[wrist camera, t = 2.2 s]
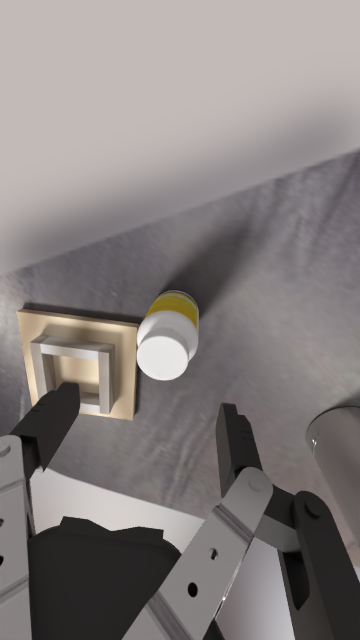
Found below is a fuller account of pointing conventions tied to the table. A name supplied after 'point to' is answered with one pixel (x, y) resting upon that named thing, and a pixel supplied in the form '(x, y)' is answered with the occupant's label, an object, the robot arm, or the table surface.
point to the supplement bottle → (168, 335)
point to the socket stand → (82, 359)
